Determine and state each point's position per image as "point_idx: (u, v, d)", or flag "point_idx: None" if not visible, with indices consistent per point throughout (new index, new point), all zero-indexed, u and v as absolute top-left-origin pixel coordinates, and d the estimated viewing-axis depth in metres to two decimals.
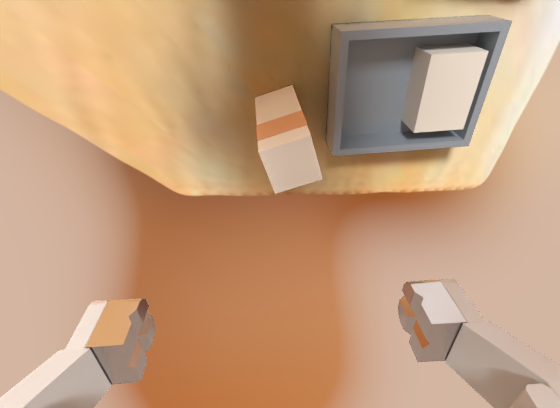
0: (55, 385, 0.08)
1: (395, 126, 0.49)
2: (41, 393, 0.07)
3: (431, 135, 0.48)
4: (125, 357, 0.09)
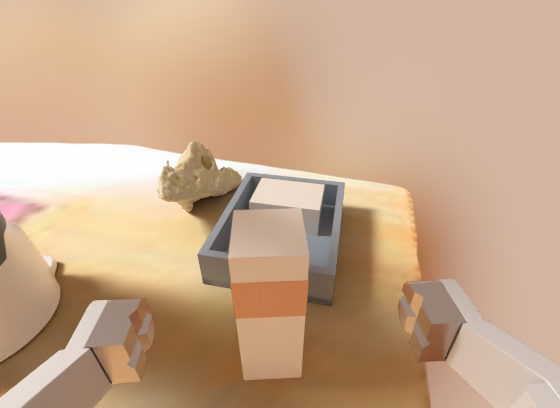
0: (55, 385, 0.08)
1: (324, 239, 0.46)
2: (42, 392, 0.07)
3: None
4: (125, 356, 0.09)
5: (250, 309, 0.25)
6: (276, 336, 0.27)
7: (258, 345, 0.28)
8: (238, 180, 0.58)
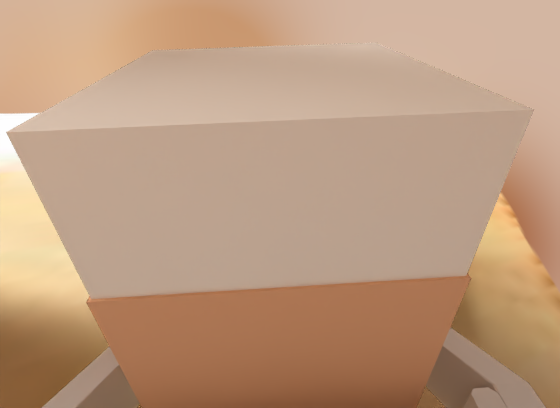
0: (108, 381, 0.08)
1: None
2: (96, 388, 0.07)
3: None
4: None
5: (207, 397, 0.06)
6: None
7: None
8: None
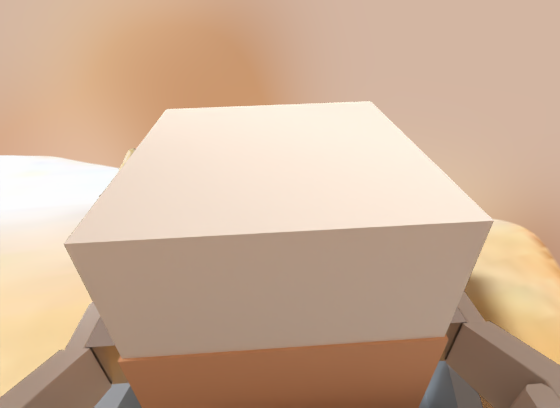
0: (55, 385, 0.08)
1: None
2: (41, 392, 0.07)
3: None
4: None
5: None
6: None
7: None
8: None
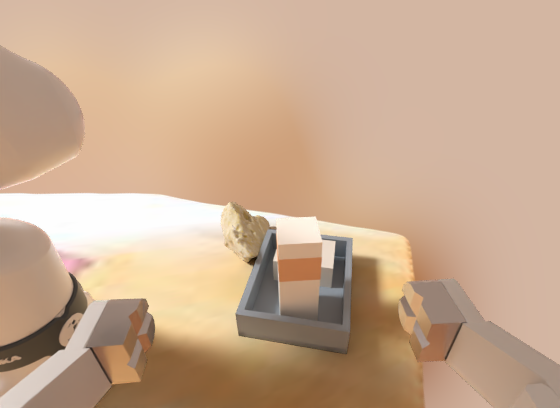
0: (55, 385, 0.08)
1: (337, 291, 0.54)
2: (41, 392, 0.07)
3: None
4: (125, 357, 0.09)
5: (288, 275, 0.43)
6: (302, 293, 0.45)
7: (291, 300, 0.46)
8: (268, 223, 0.69)
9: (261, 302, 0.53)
